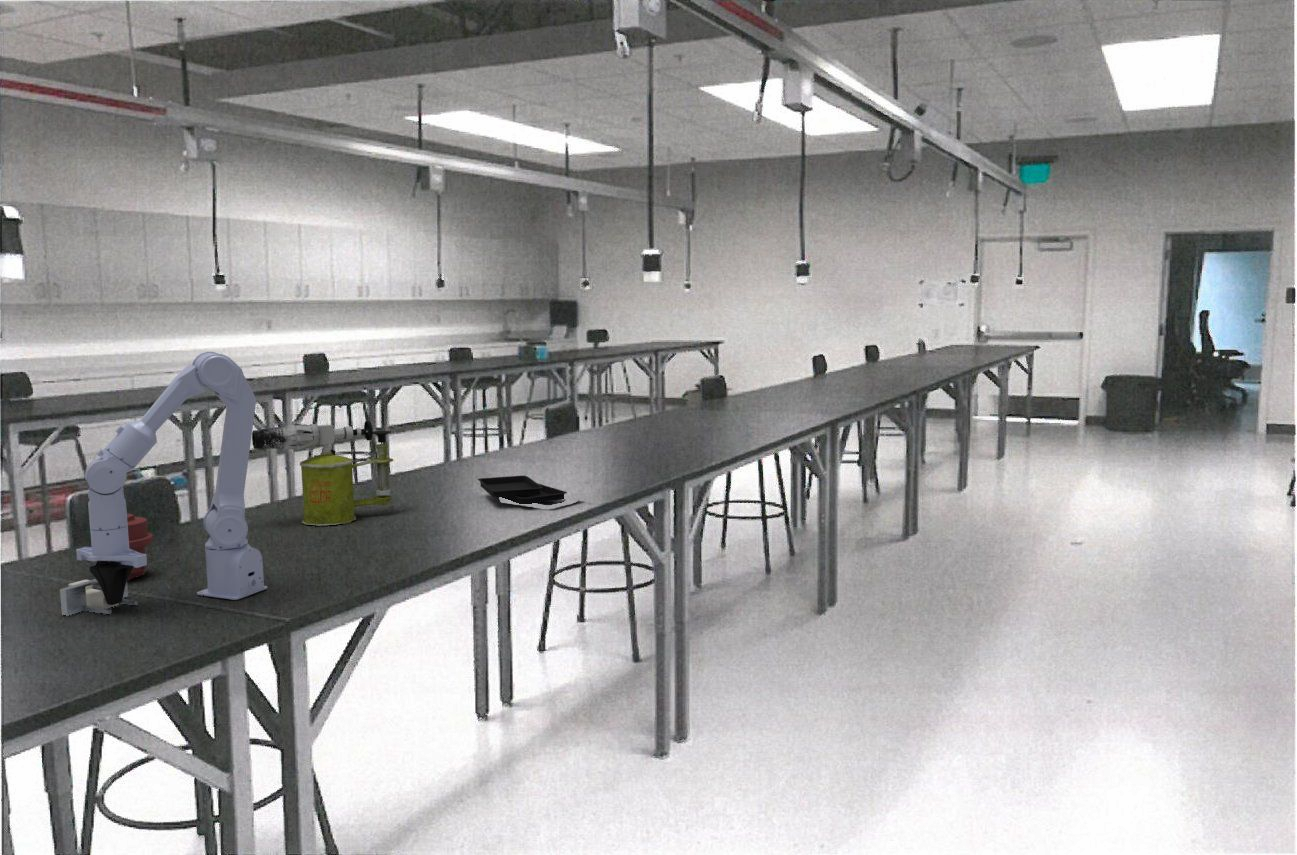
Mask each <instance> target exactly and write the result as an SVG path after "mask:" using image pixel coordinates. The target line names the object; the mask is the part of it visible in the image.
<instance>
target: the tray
mask: <svg viewBox="0 0 1297 855" xmlns="http://www.w3.org/2000/svg"><path fill="white" fill-rule="evenodd" d="M477 480H478V481H479V482H480V487H481V488H482V489H483V490H484V491H485V492H487V494H488V495H490V496H491V497H492V498H496V497H502V498H505V499H508V500H511V501H513V502H516V503H519V504H532V503H538V504H539V503H540V504H543V503H544V504H545V505H549V504H551V505H552V504H553V503H546V502H552V501H558V500H559V502H558V503H562V502H561V501H563V502H564V501H565V500H561V499H564V494H568V492H567V491H564V490H561V489H558V488H555V487H551V486H548V485H546V484H545V485H544V484H542V483H538V482H536V481H535V480H534V479H532V478H530V477H529V476H527V475H511V476H510V475H509V476H498V477H497V476H495V477H482V478H478V479H477Z"/></svg>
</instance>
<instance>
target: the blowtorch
mask: <svg viewBox="0 0 1297 855" xmlns="http://www.w3.org/2000/svg"><path fill="white" fill-rule="evenodd" d="M390 433H392V432H391V430H373V425H372V422H371V421H370V420H365V421H364V423H363V428H361V427H356V428H355V429H353V427H352V426H350V425H349V426H344V427H341V428H340V427H339V428H334V425H333V424H321V425H318V424H316V423H312V424H311V423H309V424H306V423H302V422H299V421H294V422H293V423H292V424H289V425H288V424H287V425H281V426H276V427H270V428H269V427H268V428H264V429H255V430H252V436H251V442H252V447H253V449H255V450H262V449H263V450H273V449H275V450H294V451H296V452H300V451H303V450H305V449H307V448H309V447H311V448H314V447H319V446H320V445H322V446H323V447H322V448H321V452H320V455H316V456H313V457H312V456H311V457H310V458H307V459H305V460H301V461H300V462H299V466H300V467H301V469H300V470H301V481H302V482H301V485H302V487H301V488H302V501H303V503H302V504H303V519H301V524H302V523H304V524H307V525H316V526H321V525H336V524H341V523H346V522H349V521H351V520H353V519H354V516H355V508H356V507H362V506H363V507H364V506H372V505H377V504H378V505H381V506H385V505H388V504H389V503H390V502H391V500H392V498H393V495H391V492H392V491H391V488H390V478H389V473H390V472H389V463H392V462H394V458H389V457H388V456H387V454H388V446H389V444H388V443H386V435H388V434H390ZM373 435H376V436H377V443H378V444H375V449H376V455H377V458H372V459H370V460H365V461H361V462H356V463H354V459H353V458H349V457H346V456H343V455H337V454H336V450H335V449H333V445H332V444H334V443H335V440H339V439H344V440H351V439H353V438H354V436H356V437H361V436H364V438H365V439H366V441H372V439H373ZM375 463H376V473H377V474H376V476H377V489H376V490H375V495H376V496H373V498H369V499H368V498H367V499H357V500H356V499H355V498H354V474H353V468H357V467H361V466H366V465H370V464H375ZM354 499H355V500H354Z"/></svg>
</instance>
